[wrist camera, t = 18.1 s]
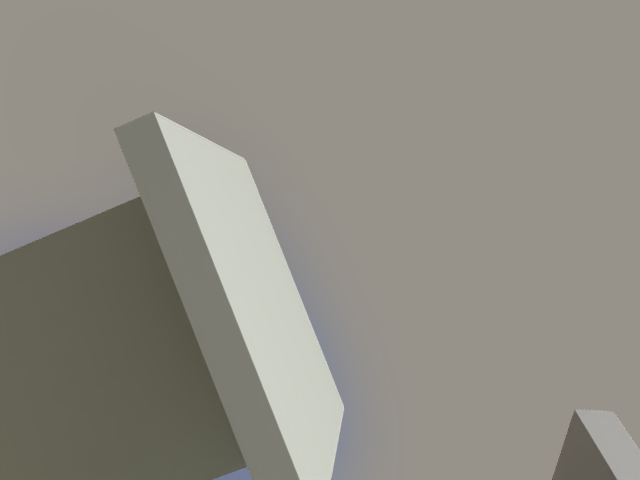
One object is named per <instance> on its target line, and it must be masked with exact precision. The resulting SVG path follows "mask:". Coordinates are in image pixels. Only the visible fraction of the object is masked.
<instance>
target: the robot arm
mask: <svg viewBox="0 0 640 480" xmlns="http://www.w3.org/2000/svg"><path fill="white" fill-rule="evenodd" d="M552 480H640V450H639V448H638V447H637V445H636V444H635V442H634V441H633V439H632V438H631V437H630V435H629V434H628V432H627V431H626V429H625V428H624V427H623V425H622V424H621V422H620V421H619V419H618V418H617V416H616V415H615V414H614V412H613V411H595V410H578V409H577V410H576V409H575V410H574V413H573V416H572V419H571V422H570V426H569V429H568V432H567V435H566V438H565V441H564V444H563V447H562V450H561V454H560V456H559V460H558V463H557V466H556V469H555V472H554V475H553V478H552Z"/></svg>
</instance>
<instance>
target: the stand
mask: <svg viewBox="0 0 640 480" xmlns="http://www.w3.org/2000/svg"><path fill="white" fill-rule="evenodd" d="M114 131H115V134H116V136H117V139H118V141H119V144H120V146H121V149H122V152H123V154H124V156H125V159H126V162H127V164H128V167H129V169H130V172H131V174H132V177H133V179H134V182H135V184H136V187H137V189H138V192H139V195H140V197H138V198H136V199H133V200H131V201H128V202H126V203H123V204H121V205H119V206H116V207H114V208H112V209H109V210H107V211H105V212H102V213H100V214H98V215H95V216H93V217H91V218H88V219H86V220H84V221H82V222H79V223H76V224H74V225H72V226H69V227H67V228H65V229H63V230H60V231H58V232H55V233H53V234H51V235H48V236H46V237H43V238H41V239H39V240H36V241H34V242H32V243H29V244H27V245H25V246H22V247H20V248H18V249H15V250H13V251H10V252H8V253H6V254H3V255H1V256H0V480H212V479H215V478H218V477H220V476H223V475H226V474H229V473H231V472H234V471H237V470H239V469H242V468H245V467H248V470H249V473H250V475H251V478H252V480H331V477H332V471H333V466H334V460H335V455H336V449H337V444H338V438H339V433H340V427H341V423H342V417H343V412H344V405H343V403H342V400H341V398H340V395H339V393H338V391H337V388H336V385H335V383H334V380H333V378H332V375H331V373H330V370H329V368H328V365H327V363H326V360H325V358H324V355H323V353H322V350H321V348H320V345H319V343H318V340H317V338H316V335H315V333H314V330H313V328H312V325H311V323H310V320H309V318H308V315H307V313H306V310H305V308H304V305H303V303H302V300H301V298H300V295H299V293H298V290H297V288H296V285H295V283H294V280H293V278H292V275H291V273H290V270H289V267H288V265H287V262H286V260H285V258H284V255H283V252H282V250H281V247H280V245H279V242H278V240H277V238H276V235H275V232H274V230H273V227H272V225H271V222H270V220H269V217H268V215H267V212H266V210H265V207H264V205H263V202H262V200H261V198H260V195H259V192H258V190H257V187H256V185H255V182H254V180H253V177H252V175H251V172H250V170H249V167H248V165H247V162H246V160H245V159H244V158H242V157H240V156H238V155H236V154H235V153H232V152H231V151H229V150H227V149H225V148H223V147H221V146H219V145H217V144H215V143H213V142H211V141H209V140H207V139H206V138H204V137H202V136H200V135H198V134H196V133H194V132H192V131H190V130H188V129H186V128H184V127H182V126H180V125H179V124H177V123H175V122H173V121H171V120H169V119H167V118H165V117H163V116H161V115H159V114H157V113H155V112H151V113H150V114H147V115H145V116H142V117H140V118H138V119H135V120H133V121H131V122H129V123H126V124H124V125H122V126H120V127H117V128H115V129H114Z"/></svg>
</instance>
